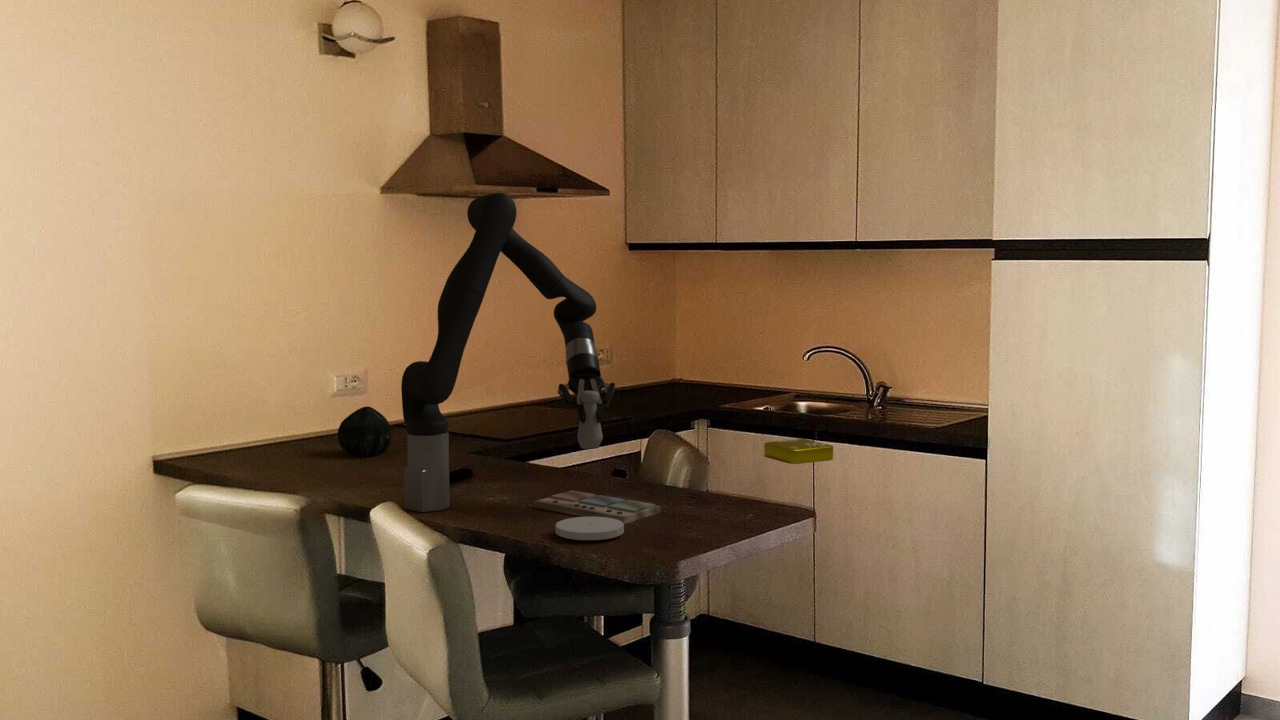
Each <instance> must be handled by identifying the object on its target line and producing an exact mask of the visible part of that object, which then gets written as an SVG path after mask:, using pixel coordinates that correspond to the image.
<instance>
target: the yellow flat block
mask: <svg viewBox="0 0 1280 720" xmlns="http://www.w3.org/2000/svg"><path fill="white" fill-rule="evenodd" d="M763 445H764V450H763V451H764V453H763V454H764V457H765V458H767V459H772V460H775V461H778V462H780V463H781V462H782V463H786V464H788V465H789V464H790V465H800V464H808V463H820V462H821V463H822V462H828V461H833V460H834V446H833V445H832V444H828V443H824V442H820V441H816V440H812V439H811V440H810V439H808V438H797V439H796V438H795V439H786V440H785V439H783V440H777V441H766V442H764V444H763Z"/></svg>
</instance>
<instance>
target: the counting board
mask: <svg viewBox="0 0 1280 720" xmlns="http://www.w3.org/2000/svg"><path fill="white" fill-rule="evenodd" d="M533 502H534V503H533V504H534V506H533V507H534V509H541V510H546V511H552V512H556V513H557V512H558V513H562V514H568V515H573V516H577V517H607V518H612V519H616V520H620V521H621V522H623V524H624V525H626V524H630V523H632V522H635V521H639V520H642V519H645V517H646V518H649V517H652V516H656V515H658V513H659V514H661V506H660V505H656V504H655V503H650V502H643V501H639V500H633V499H627V500H626V499H625V498H620V497H614V496H608V495H601V494H600V495H599V494H598V495H597V494H596V493H591V492H583V491H579V490H578V491H577V490H568V491H565V492H560V493H556V494H553V495H550V496H549V497H545V498H541V499H538V500H534V501H533ZM651 515H652V516H651ZM648 516H649V517H648Z"/></svg>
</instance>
